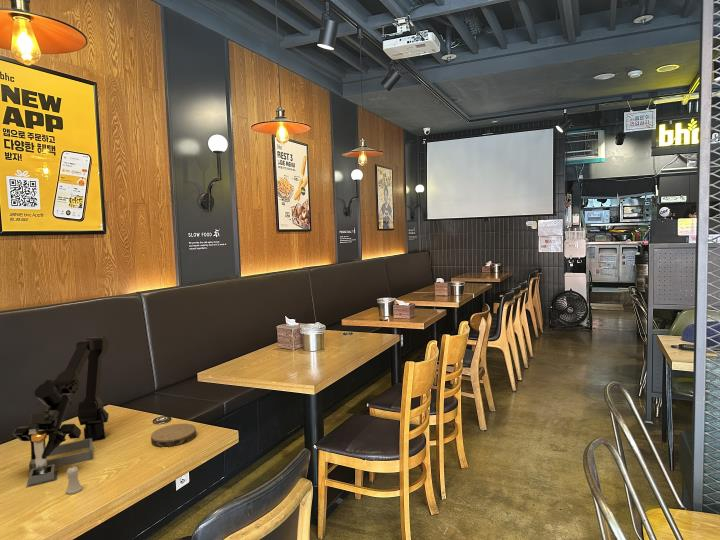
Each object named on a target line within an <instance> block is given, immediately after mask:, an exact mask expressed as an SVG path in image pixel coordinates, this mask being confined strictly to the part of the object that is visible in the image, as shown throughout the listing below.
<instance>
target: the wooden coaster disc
mask: <svg viewBox="0 0 720 540" xmlns="http://www.w3.org/2000/svg"><path fill="white" fill-rule="evenodd" d="M196 429H197V428H196V426H195V425H194V424H192V423H191V424H190V423H175V424H170V425H165V426H162V427H160V428H158V429H156V430H155V431H153V432H152V433H151V435H150V440H151V441H150V442H151V445H152V446H153V447H156V448H160V449H161V448H162V447H168V448H174V446H175V447H179V446H181V445H184V444H187V443H190V442H191V441H193V440H194V439H195V438H196V437H197V436H196V435H197V430H196ZM162 449H163V448H162Z"/></svg>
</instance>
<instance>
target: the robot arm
mask: <svg viewBox="0 0 720 540" xmlns="http://www.w3.org/2000/svg"><path fill="white" fill-rule="evenodd" d="M109 346H110V340H109V339H108V338H107V337H106V336H95V337H94V336H93V337H89V336H88V337H87V338H86V339H85V340H78V341H77V342H76V345H75V350H73V353H72V356H71V357H70V360H69V361H68V362H67V365H66V367H65V369H64V370H63V371H61V372H59V374H58V375H57V376H56V378H55V379H54V380H53V379H46V380H45V382H43V383H42V384H39V385H38V387H36V388H35V390H34V395H35V397H36V398H37V399H38V400H39V401H40V402H41V403H42V404H43V405H45V406H47V408H46V409H45V410H46V411H42V412H41V413H31V416H30V420H29V425H35V428H37V429H35V428H32V427H31V426H29V425H26V426H18V427H17V428H15V430H14V431H13V434H12V435H13V436H14V437H16V438H17V440H19V441H21V442H30V452H31V453H30V460H31V459H32V460H34V459H35V452H34V441H32V440H31V435H32V434H34V433H38V432H46V435H47V436H48V440H47V443H46V444H45V445H46V448H45V450H44V453H43V457H42V458H43V459H45V458H46V457H47V456H48V455H49V454H50V453H51V452H52V451H53V450H54V449H55V448H56V447H57V446H58V445H61V444H63V442H66V437H67V436H68V438H69V439H70V440H72V439H80V437H81V434H82V429H81V428H80V427H78V425H76V424H75V423H64V424H62V423H63V422H66V419H67V417H65V415H66V413H67V410H68V407H69V406H71V405H73V401H72V399H71V397H70V396H68V395H74V394H77V392H78V391H79V388H80V385H81V378H80V375H81V373H82V370H83V368H84V366H85V364H86V361H87V370H86V382H85V392H84V393H85V394H84V395H85V396H84V399H83V400H82V402H79V403H78V409H77V419H78V421H79V425H80V426H84V427H83V437H84V439H89V438H92V442H94V441H100V440H104V439H106V432H105V423H108V422H109V417H110V416H109V415H110V414H109V413H108V412H107V410H105V409H104V405H105V404H104V402H103V400H102V399H101V397H100V392H101V381H102V379H101V378H102V369H103V368H102V367H103V359H104V358H105V356H106V355H107V353H108V349H109ZM84 439H83V440H84ZM48 457H49V456H48ZM48 457H47V458H48Z"/></svg>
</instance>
